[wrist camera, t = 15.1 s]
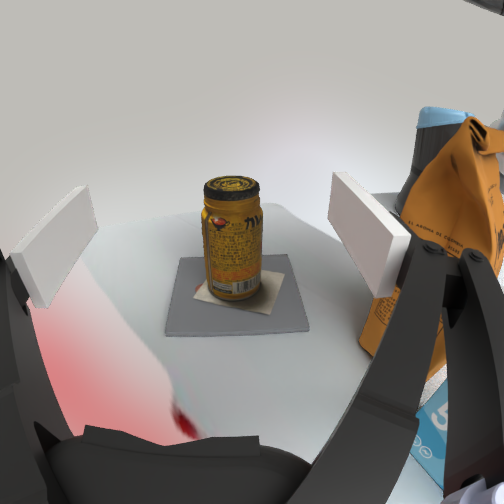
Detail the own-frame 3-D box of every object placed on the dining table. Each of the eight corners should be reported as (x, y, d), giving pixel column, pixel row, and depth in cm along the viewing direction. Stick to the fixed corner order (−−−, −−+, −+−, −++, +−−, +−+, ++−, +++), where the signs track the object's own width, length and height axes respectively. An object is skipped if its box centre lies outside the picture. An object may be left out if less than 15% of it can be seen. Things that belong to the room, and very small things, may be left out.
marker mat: (287, 258, 39) (287, 254, 38) (308, 330, 28) (309, 326, 27) (181, 261, 38) (180, 257, 37) (166, 336, 27) (164, 332, 26)
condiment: (218, 263, 37) (213, 169, 30) (284, 275, 34) (292, 177, 28) (192, 299, 31) (179, 193, 24) (269, 317, 29) (276, 204, 22)
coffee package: (471, 343, 24) (549, 152, 12) (409, 406, 19) (536, 140, 8) (414, 296, 32) (462, 116, 20) (343, 337, 27) (394, 95, 15)
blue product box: (393, 435, 17) (474, 338, 11) (427, 406, 19) (500, 306, 13) (469, 522, 8) (587, 460, 2) (498, 485, 10) (600, 408, 3)
